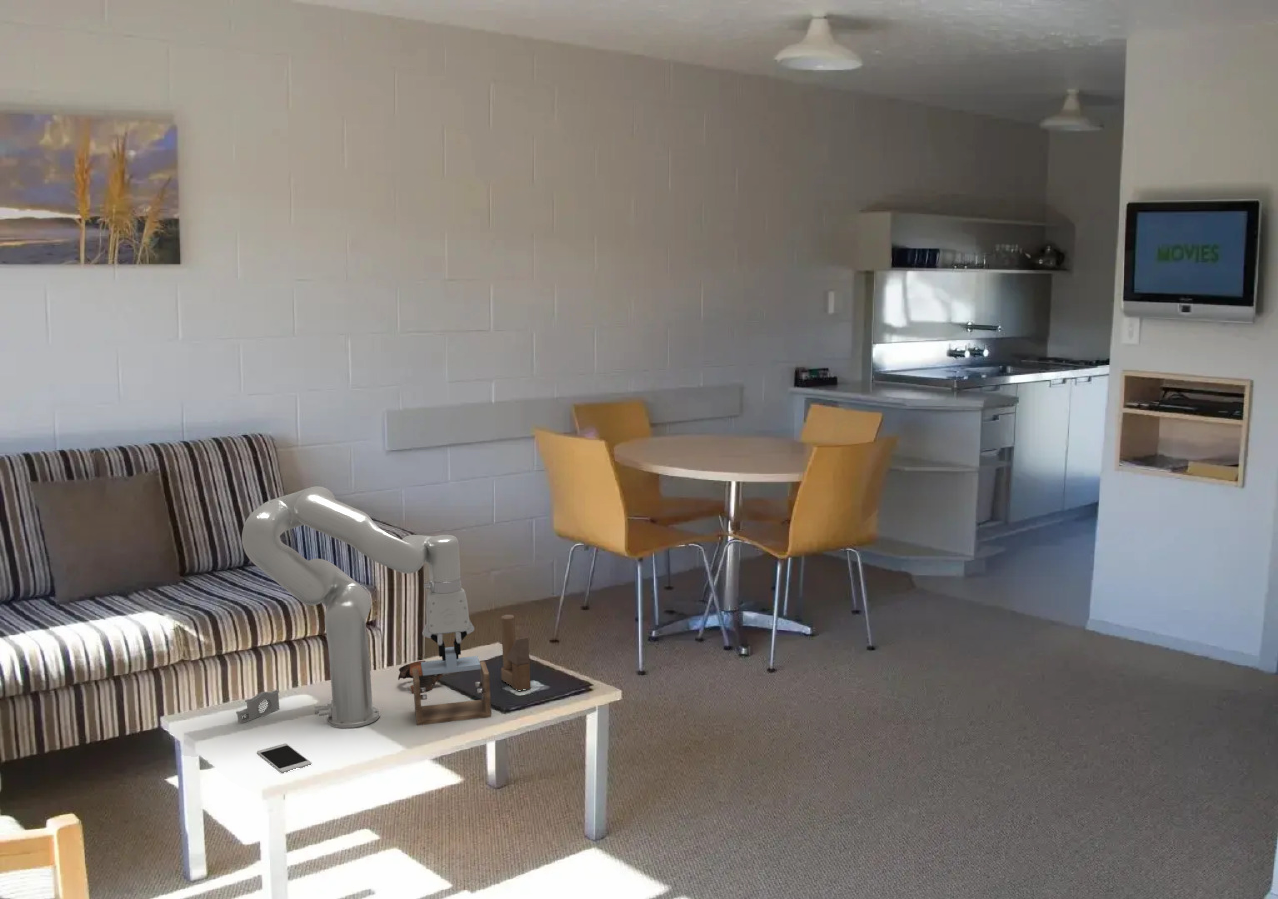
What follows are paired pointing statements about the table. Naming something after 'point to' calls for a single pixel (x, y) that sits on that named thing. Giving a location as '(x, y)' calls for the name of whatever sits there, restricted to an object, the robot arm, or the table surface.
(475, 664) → the shelf board
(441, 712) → the shelf unit
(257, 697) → the garden wall model
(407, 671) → the pottery mug
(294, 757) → the smartphone
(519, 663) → the wooden block
